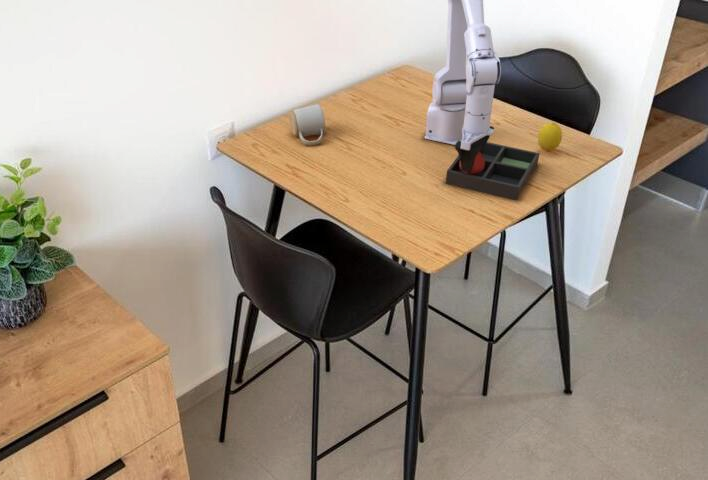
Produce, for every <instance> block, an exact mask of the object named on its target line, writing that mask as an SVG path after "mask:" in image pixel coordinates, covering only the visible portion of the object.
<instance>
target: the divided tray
mask: <svg viewBox="0 0 708 480" xmlns="http://www.w3.org/2000/svg"><path fill="white" fill-rule="evenodd" d="M540 154H541V153H540V152H537V151H531V150H527V149H522V148H518V147H513V146H507V145H503V144H498V143H494V142H489V141H487V143H486V146H485V149H484V152H483V154H482V155H483V157H484V160H485V166H484V169H483V171H482V172H481V173H479V174H478V175H476V176H474V175H470V174H466V173H463V172H462V170H461V169H460V165H459V164H460V157H459V154H458V155H457V157H456V158H455V159H454V161H453V162H452V164H450V166H449V168H448V169H447V170H446V177H445V184H446V185H450V186H454V187H459V188H463V189H467V190H471V191H476V192H479V193H485V194H488V195H493V196H497V197H501V198H504V199H509V200H513V201H518V200H519V198H520V196H521V195H522V194H523V191H524V190H525V188H526V186H527V185H528V183H529V181H530V179H531V177H532V176H533V174H534V172H535V171H536V169H537V167H538V165H539V159H540Z"/></svg>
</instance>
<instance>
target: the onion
mask: <svg viewBox="0 0 708 480" xmlns="http://www.w3.org/2000/svg"><path fill="white" fill-rule="evenodd" d="M459 165H460V169H461V162H460V164H459ZM484 166H485V160H484V157H483V155H482V154H481V153H480V152H478V154H477V156H476V158H475V161H474V165H473V168H472V170H471V172H466V171H462V172H463V173H466V174H470V175H474V176H476V175H478V174H479V173H481V172H482V171H483V169H484ZM461 170H462V169H461Z"/></svg>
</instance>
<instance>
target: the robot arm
mask: <svg viewBox="0 0 708 480" xmlns="http://www.w3.org/2000/svg"><path fill="white" fill-rule="evenodd" d="M447 3H448V4H447V5H448V6H447V12H448V13H447V28H446V29H447V30H446V31H447V33H446V56H445V57H446V58H445V66H443V67H442V68H441V69H440V70H439V71H437V72H436V73H435V74H434V76H433V83H432V87H431V88H432V91H431V92H432V93H431V94H432V95H431V96H432V101H431V102H430V104H429V107H428V109H427V114H426V123H425V124H426V125H425V136H424V139H425V140H428V141H429V140H430V141H434V142H439V143H444V144H447V145H452V146H455V147H454V149H455V151H456V152H457V154H458V155H459V157H460V162H461V169H462V171H466V172H471V170H472V168H473V165H474V161H475V158H476V156H477V154H478V152H480V153H481V154H483V152H484V149H485V146H486V143H487V142H489V139H490V136H493V135H494V133H495V127H494V126H492V125H491V116H492V109H493V102H494V94H495V86H496V85H498V84H499V83H500V80H501V75H502V66H501V60H500V57H499V56H498V53H497V52H496V51H495V50H494V43H493V37H492V30H491V28H490V27H489V26H488V25H486V24H485V11H484V0H447Z"/></svg>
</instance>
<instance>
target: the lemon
mask: <svg viewBox="0 0 708 480" xmlns="http://www.w3.org/2000/svg"><path fill="white" fill-rule="evenodd" d="M562 139H563V129H562V128H561V126H560V125H559V124H557V123H556V122H554V121H551V122H547V123H545V124H544V125H542V126H541V128H540V130H539V132H538V137H537V142H538V145H539V147H540V148H541V149H542V150H543V151H545V152H547V153H548V152H551V151H554V150H556V149H558V147H559V146H560V145H561V142H562Z"/></svg>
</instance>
